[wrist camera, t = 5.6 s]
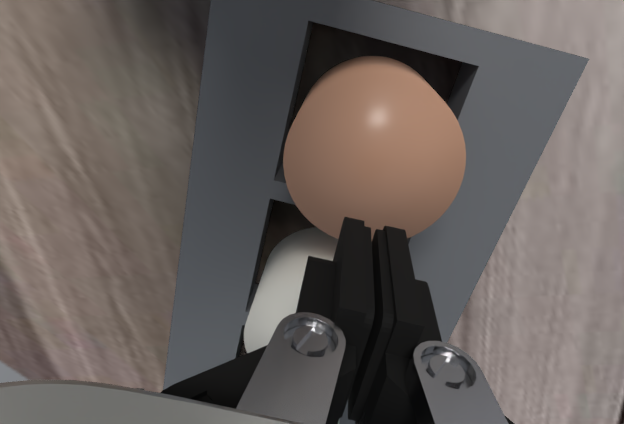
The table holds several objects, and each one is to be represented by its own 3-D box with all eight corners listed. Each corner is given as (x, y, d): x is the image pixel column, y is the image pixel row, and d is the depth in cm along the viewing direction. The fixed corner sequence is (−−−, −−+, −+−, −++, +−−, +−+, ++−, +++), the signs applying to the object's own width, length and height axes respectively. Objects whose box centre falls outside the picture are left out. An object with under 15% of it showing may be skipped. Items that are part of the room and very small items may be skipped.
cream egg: (398, 244, 20) (409, 305, 16) (362, 337, 22) (364, 410, 18) (277, 213, 20) (257, 267, 16) (255, 310, 22) (233, 377, 18)
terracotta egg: (462, 77, 16) (497, 101, 12) (412, 208, 19) (428, 262, 15) (317, 38, 16) (305, 50, 12) (286, 175, 19) (267, 221, 15)
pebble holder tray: (560, 51, 18) (589, 58, 16) (383, 427, 29) (386, 463, 27) (233, -37, 18) (216, -42, 16) (176, 376, 28) (160, 408, 26)
